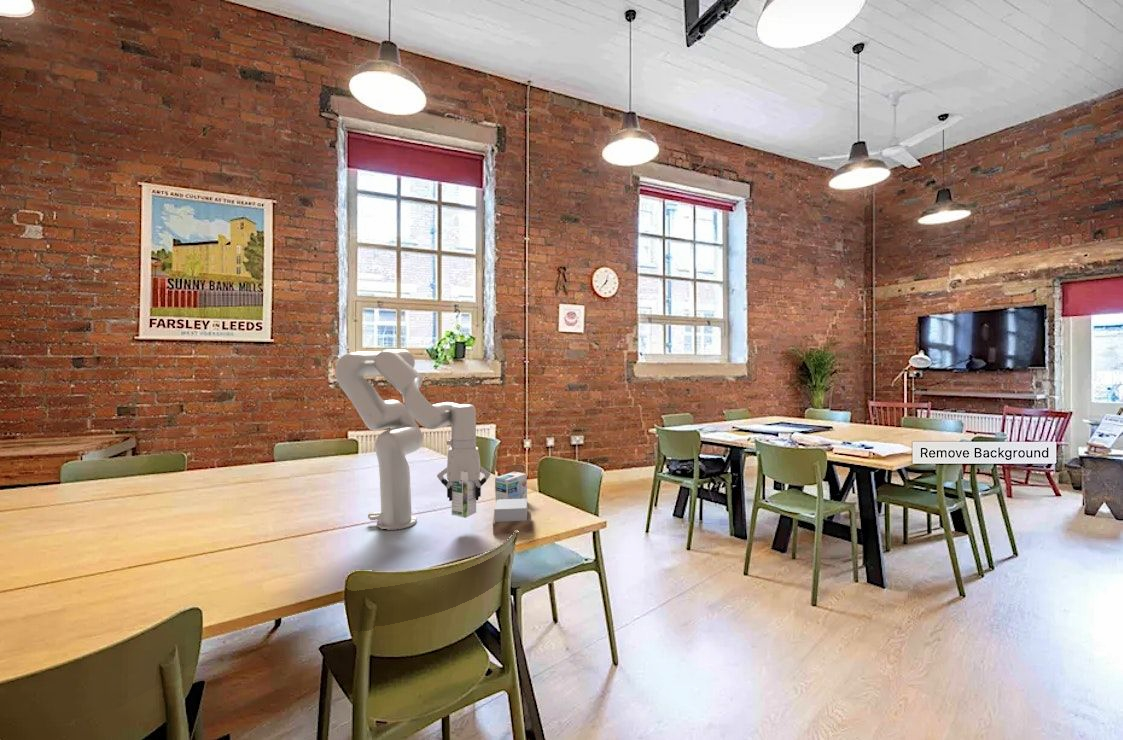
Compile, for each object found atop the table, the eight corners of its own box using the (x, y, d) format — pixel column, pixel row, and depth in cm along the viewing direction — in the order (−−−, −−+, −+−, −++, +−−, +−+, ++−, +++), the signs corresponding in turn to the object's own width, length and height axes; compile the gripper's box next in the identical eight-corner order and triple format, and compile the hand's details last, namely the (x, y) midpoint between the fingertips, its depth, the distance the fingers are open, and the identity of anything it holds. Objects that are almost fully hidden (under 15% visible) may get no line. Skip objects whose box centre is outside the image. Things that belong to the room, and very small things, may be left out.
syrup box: (450, 515, 155) (450, 469, 154) (462, 509, 160) (462, 465, 160) (465, 518, 152) (465, 471, 152) (477, 512, 158) (477, 467, 157)
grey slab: (494, 522, 154) (494, 509, 154) (497, 511, 164) (496, 499, 164) (526, 520, 155) (526, 508, 155) (527, 510, 165) (527, 498, 165)
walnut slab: (493, 536, 153) (492, 523, 153) (494, 522, 165) (494, 510, 165) (532, 533, 155) (531, 521, 154) (530, 520, 166) (530, 508, 166)
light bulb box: (508, 509, 176) (507, 479, 176) (494, 506, 180) (493, 477, 180) (528, 502, 185) (527, 473, 184) (514, 499, 189) (514, 471, 188)
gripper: (433, 446, 151) (434, 504, 152) (491, 446, 152) (491, 502, 153) (437, 441, 158) (437, 496, 159) (492, 441, 160) (492, 495, 161)
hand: (464, 499), depth 156 cm, fingers closed on syrup box, 7 cm apart
